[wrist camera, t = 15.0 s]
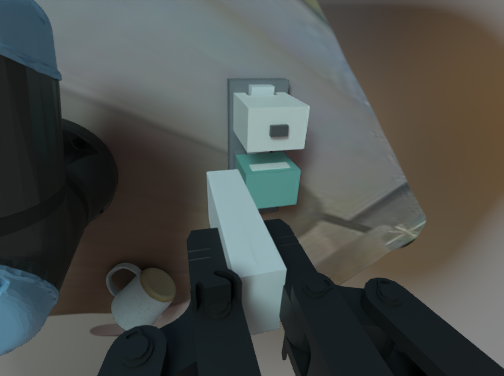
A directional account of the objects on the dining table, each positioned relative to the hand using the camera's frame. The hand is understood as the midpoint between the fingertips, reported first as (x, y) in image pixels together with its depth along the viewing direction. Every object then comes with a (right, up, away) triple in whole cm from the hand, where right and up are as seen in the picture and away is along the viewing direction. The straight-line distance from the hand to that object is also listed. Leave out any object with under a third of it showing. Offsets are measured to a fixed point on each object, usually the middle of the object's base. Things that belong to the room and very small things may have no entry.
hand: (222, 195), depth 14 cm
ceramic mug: (-18, -16, +35) cm, 43 cm away
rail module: (+2, +4, +28) cm, 28 cm away
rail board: (+2, +7, +28) cm, 29 cm away
